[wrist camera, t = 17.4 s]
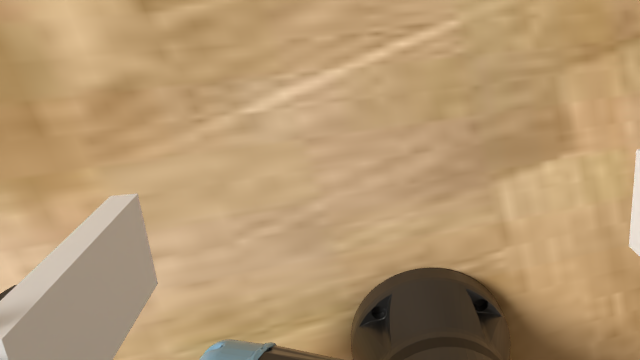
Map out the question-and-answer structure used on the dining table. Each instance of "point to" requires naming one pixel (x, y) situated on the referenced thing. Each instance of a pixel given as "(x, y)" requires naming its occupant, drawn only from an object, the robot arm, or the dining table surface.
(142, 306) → the robot arm
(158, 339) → the dining table surface
